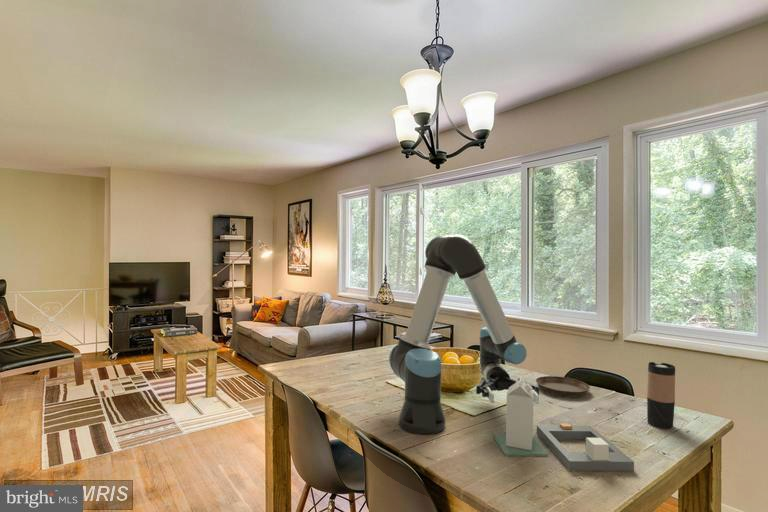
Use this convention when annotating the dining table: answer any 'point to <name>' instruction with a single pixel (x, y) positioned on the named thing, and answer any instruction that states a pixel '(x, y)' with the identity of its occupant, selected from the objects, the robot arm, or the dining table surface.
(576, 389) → the plant saucer
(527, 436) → the milk carton
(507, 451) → the felt pad
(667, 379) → the travel mug
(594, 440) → the grey open frame
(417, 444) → the dining table surface
